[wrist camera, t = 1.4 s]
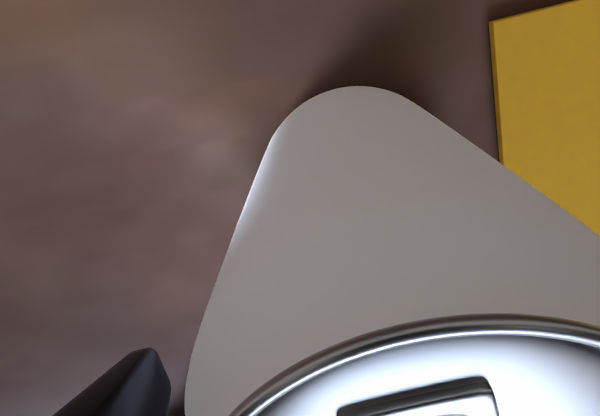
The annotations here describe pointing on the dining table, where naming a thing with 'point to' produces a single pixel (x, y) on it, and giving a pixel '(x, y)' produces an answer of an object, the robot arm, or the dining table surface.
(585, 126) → the cloth
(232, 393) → the can
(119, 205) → the dining table surface
